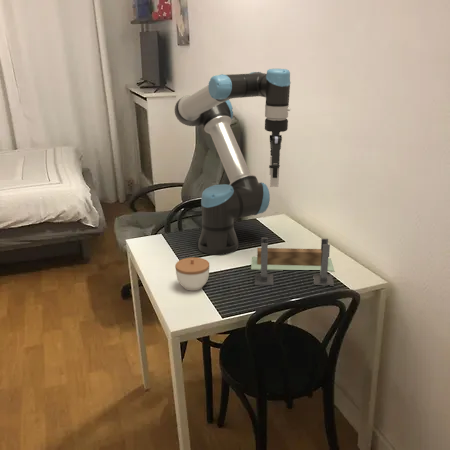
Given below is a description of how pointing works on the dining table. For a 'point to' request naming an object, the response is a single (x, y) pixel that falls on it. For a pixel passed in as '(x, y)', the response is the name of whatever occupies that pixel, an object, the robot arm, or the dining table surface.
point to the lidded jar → (192, 273)
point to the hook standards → (318, 279)
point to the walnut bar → (291, 256)
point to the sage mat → (289, 266)
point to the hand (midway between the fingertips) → (273, 180)
